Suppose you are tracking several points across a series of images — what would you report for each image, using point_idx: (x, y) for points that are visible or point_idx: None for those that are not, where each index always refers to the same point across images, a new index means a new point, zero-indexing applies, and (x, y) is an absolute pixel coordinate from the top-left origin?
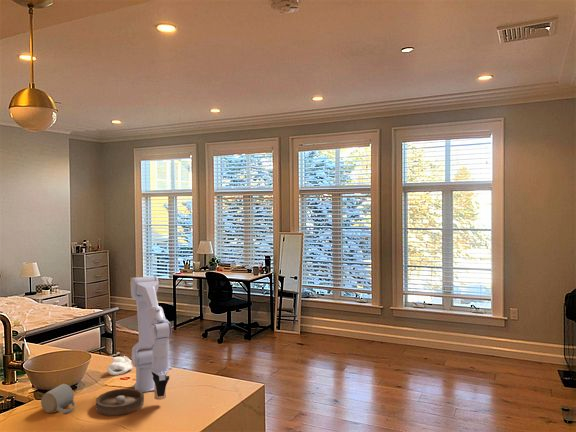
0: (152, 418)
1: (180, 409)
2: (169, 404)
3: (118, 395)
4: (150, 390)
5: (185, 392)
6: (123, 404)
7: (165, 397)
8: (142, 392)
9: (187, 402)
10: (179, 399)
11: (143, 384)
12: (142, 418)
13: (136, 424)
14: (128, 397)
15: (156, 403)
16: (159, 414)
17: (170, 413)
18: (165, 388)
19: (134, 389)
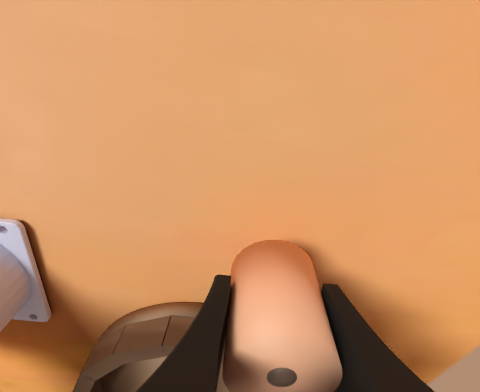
0: (422, 297)
1: (416, 138)
2: (287, 188)
3: (102, 388)
4: (31, 256)
5: (92, 15)
6: (222, 386)
7: (297, 246)
8: (159, 348)
9: (322, 53)
10: (230, 104)
11: (3, 320)
12: (388, 329)
13: (433, 354)
14: (140, 363)
15: (234, 251)
16: (398, 262)
17: (430, 210)
18: (311, 303)
19: (96, 371)
